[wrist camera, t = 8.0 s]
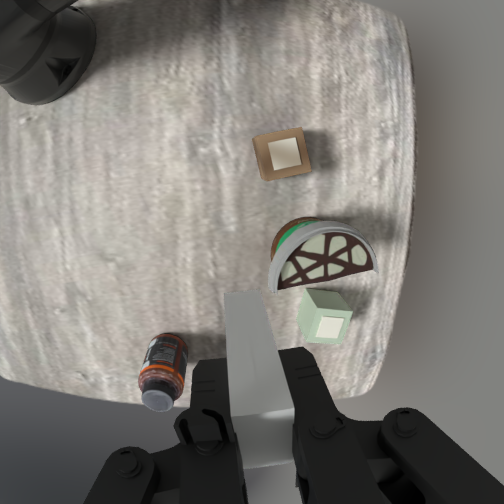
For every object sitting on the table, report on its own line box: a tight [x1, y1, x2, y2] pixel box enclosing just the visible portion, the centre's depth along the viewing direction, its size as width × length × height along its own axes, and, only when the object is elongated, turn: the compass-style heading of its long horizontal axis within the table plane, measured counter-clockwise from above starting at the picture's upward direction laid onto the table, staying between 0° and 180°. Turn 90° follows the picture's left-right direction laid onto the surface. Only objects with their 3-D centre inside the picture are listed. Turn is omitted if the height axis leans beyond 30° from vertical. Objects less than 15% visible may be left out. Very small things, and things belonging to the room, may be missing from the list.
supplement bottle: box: [138, 334, 188, 412], centre depth 37 cm, size 6×6×11 cm
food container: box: [268, 217, 379, 295], centre depth 34 cm, size 12×6×10 cm, turn 99°
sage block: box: [296, 288, 353, 344], centre depth 39 cm, size 5×5×6 cm
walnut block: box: [252, 127, 312, 181], centre depth 33 cm, size 5×5×5 cm
